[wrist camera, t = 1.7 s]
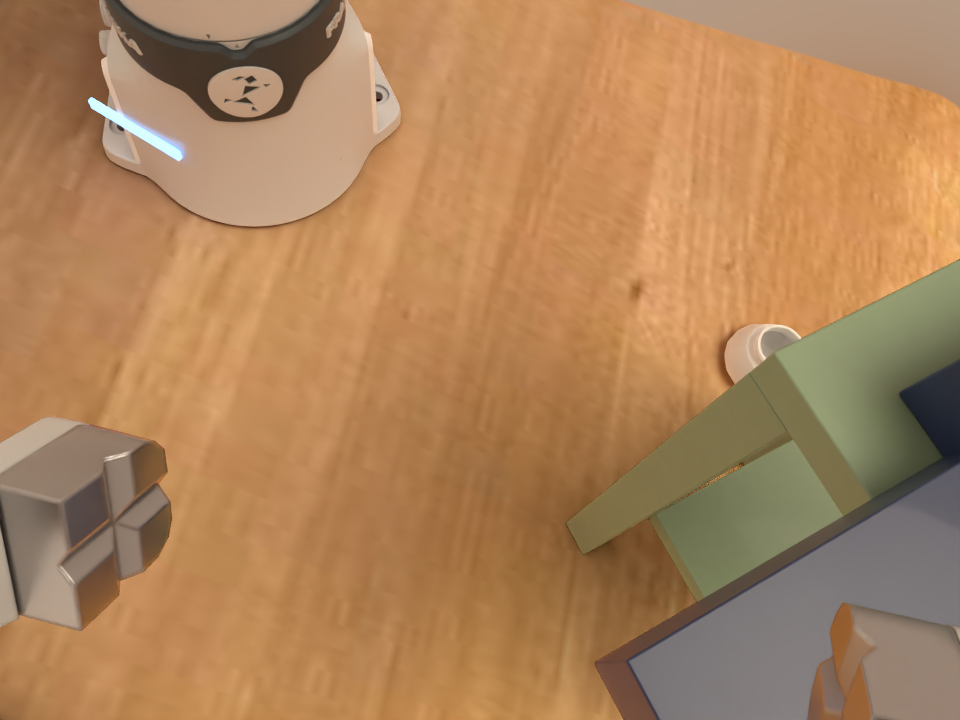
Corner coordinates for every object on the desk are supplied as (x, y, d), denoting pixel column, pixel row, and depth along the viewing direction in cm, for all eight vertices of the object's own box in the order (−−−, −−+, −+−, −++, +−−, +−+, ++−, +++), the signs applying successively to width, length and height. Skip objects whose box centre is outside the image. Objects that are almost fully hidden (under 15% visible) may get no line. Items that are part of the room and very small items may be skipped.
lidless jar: (751, 314, 53) (706, 364, 51) (771, 294, 50) (725, 347, 48) (812, 365, 52) (769, 418, 50) (837, 348, 49) (792, 403, 47)
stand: (677, 727, 43) (1063, 787, 19) (565, 523, 46) (772, 352, 22) (868, 606, 46) (1397, 525, 22) (752, 424, 50) (1105, 185, 26)
